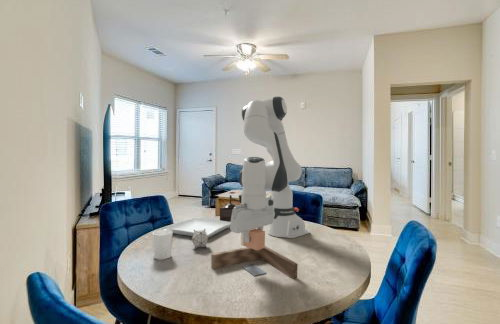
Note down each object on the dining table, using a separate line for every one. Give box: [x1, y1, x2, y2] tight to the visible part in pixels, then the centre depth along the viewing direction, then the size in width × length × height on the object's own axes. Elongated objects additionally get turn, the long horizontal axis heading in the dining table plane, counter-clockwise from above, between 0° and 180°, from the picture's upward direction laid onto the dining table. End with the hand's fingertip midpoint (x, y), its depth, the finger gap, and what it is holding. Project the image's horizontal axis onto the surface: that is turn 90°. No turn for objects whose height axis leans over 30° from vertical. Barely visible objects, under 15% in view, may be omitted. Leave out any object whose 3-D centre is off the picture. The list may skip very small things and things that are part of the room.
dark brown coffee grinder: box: [219, 193, 242, 222], centre depth 168 cm, size 16×11×18 cm
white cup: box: [151, 229, 174, 260], centre depth 113 cm, size 8×8×10 cm
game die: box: [189, 229, 211, 250], centre depth 124 cm, size 9×8×10 cm
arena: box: [210, 245, 298, 280], centre depth 99 cm, size 22×22×5 cm
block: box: [240, 228, 266, 250], centre depth 100 cm, size 8×4×6 cm, turn 48°
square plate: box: [163, 217, 231, 238], centre depth 150 cm, size 27×27×4 cm
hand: (252, 240), depth 100 cm, fingers closed on block, 4 cm apart
